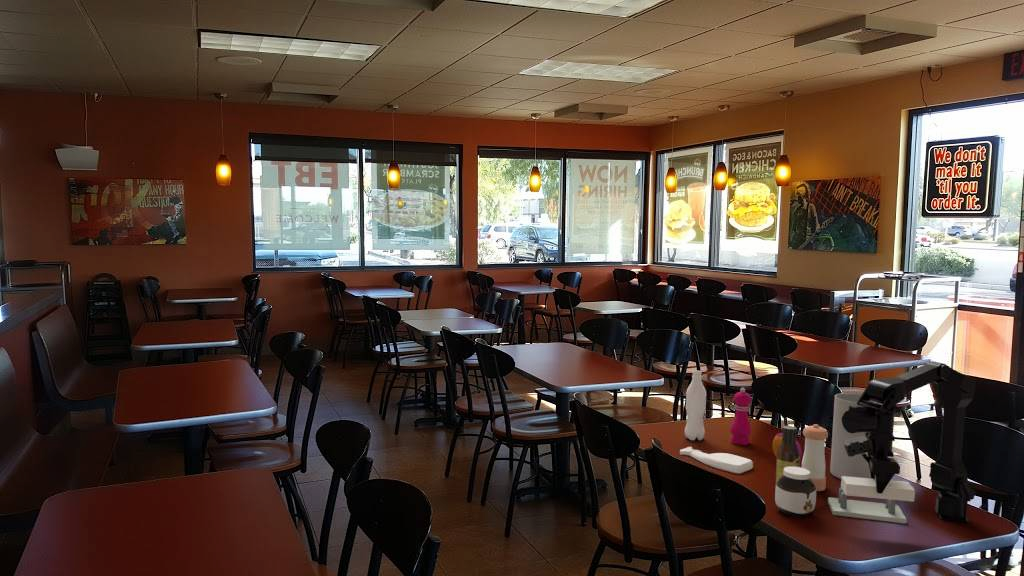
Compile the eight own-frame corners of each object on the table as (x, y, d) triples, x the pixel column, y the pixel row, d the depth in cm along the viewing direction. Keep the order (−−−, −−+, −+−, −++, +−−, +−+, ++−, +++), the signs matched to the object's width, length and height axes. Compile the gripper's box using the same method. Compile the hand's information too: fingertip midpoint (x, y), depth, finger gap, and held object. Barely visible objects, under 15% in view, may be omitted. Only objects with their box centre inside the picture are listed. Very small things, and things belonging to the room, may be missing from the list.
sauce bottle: (799, 499, 210) (803, 431, 208) (776, 497, 211) (780, 430, 209) (795, 491, 216) (799, 425, 214) (773, 489, 217) (776, 423, 215)
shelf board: (906, 492, 190) (907, 481, 190) (914, 501, 184) (914, 490, 184) (840, 487, 194) (841, 476, 193) (845, 495, 188) (846, 483, 187)
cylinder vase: (851, 467, 238) (856, 392, 235) (883, 480, 226) (888, 401, 223) (821, 471, 233) (825, 394, 231) (851, 485, 222) (856, 404, 219)
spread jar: (787, 519, 196) (790, 477, 194) (762, 503, 206) (764, 463, 205) (825, 514, 199) (828, 473, 198) (798, 499, 210) (800, 459, 209)
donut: (794, 459, 245) (795, 430, 244) (802, 468, 236) (804, 438, 235) (770, 458, 246) (771, 429, 245) (777, 467, 236) (778, 437, 235)
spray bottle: (737, 476, 229) (673, 457, 247) (756, 468, 236) (692, 450, 255) (737, 466, 229) (673, 448, 247) (756, 459, 236) (692, 442, 254)
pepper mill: (725, 440, 265) (728, 386, 263) (742, 438, 267) (745, 384, 265) (737, 446, 258) (740, 390, 256) (755, 444, 260) (757, 389, 258)
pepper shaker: (801, 480, 225) (805, 419, 223) (827, 485, 221) (830, 423, 219) (797, 487, 219) (800, 425, 217) (823, 493, 215) (827, 429, 213)
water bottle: (707, 438, 267) (710, 370, 265) (700, 442, 261) (703, 374, 259) (688, 434, 271) (690, 368, 269) (681, 439, 265) (684, 371, 263)
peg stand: (897, 509, 203) (899, 491, 203) (906, 523, 194) (907, 504, 193) (827, 501, 208) (829, 483, 208) (832, 514, 199) (834, 496, 198)
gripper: (841, 417, 198) (837, 473, 200) (852, 436, 181) (848, 498, 182) (886, 421, 195) (882, 478, 197) (902, 441, 177) (898, 503, 179)
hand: (876, 488), depth 189 cm, fingers closed on shelf board, 6 cm apart
